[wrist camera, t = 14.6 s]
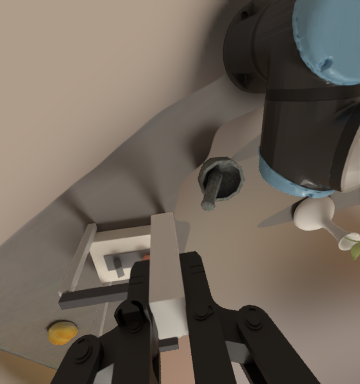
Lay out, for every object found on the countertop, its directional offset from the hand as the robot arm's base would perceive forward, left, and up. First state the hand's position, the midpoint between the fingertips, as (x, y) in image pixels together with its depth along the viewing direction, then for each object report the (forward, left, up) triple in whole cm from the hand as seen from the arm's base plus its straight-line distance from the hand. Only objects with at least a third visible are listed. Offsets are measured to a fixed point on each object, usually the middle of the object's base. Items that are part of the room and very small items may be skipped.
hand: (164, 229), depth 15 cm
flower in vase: (-41, +26, -34) cm, 59 cm away
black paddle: (+14, +31, -29) cm, 45 cm away
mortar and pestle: (-12, +11, -34) cm, 38 cm away
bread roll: (+39, +61, -35) cm, 80 cm away
